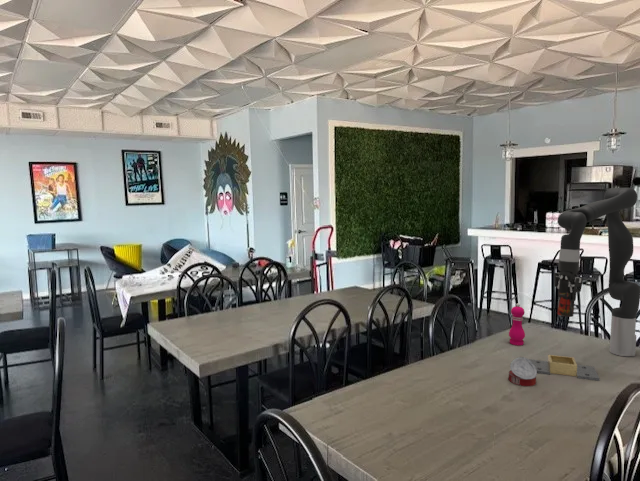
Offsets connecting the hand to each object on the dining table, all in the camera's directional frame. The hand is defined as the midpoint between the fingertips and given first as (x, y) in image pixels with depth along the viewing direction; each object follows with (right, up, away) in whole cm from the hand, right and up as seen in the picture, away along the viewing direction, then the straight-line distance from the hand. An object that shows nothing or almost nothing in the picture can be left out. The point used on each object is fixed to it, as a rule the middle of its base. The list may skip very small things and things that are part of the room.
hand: (566, 299), depth 191 cm
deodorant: (0, -7, +1) cm, 7 cm away
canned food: (-24, -31, -12) cm, 41 cm away
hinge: (-3, -29, -3) cm, 29 cm away
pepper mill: (-7, -26, +31) cm, 41 cm away
